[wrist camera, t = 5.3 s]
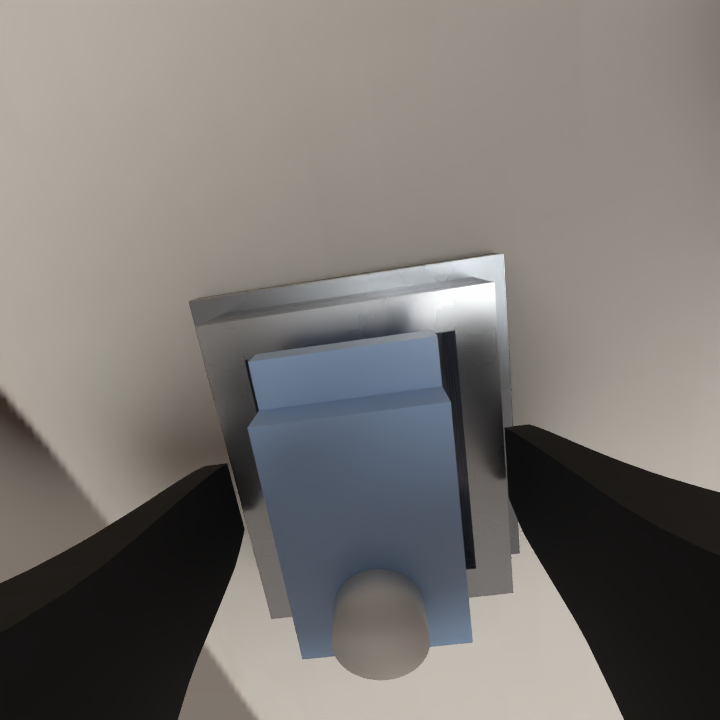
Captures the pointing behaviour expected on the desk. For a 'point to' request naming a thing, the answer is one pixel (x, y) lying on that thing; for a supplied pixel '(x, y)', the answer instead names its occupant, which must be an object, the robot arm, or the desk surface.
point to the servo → (363, 499)
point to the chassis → (370, 320)
